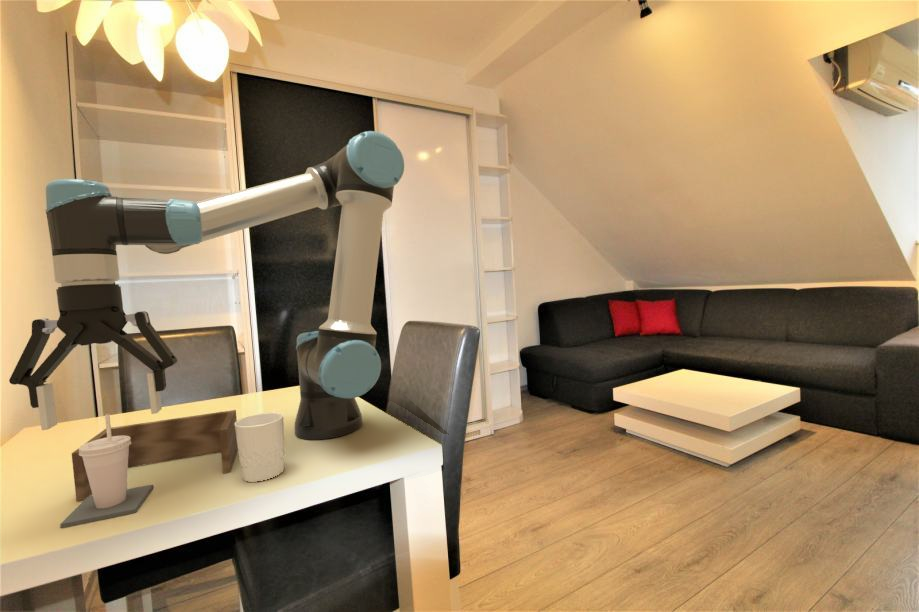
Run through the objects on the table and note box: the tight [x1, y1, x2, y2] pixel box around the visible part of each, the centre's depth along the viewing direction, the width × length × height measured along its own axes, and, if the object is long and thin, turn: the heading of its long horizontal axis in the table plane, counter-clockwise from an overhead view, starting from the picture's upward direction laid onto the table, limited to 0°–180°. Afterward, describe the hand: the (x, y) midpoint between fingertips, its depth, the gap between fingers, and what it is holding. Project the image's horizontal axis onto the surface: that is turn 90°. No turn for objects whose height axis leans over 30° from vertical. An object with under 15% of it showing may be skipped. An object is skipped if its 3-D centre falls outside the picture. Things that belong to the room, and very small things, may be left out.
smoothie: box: [78, 413, 131, 508], centre depth 67 cm, size 6×6×14 cm
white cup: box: [234, 412, 285, 483], centre depth 76 cm, size 8×8×10 cm
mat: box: [59, 484, 154, 529], centre depth 67 cm, size 9×9×1 cm
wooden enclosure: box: [71, 409, 238, 502], centre depth 80 cm, size 22×14×8 cm, turn 112°
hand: (105, 419), depth 67 cm, fingers open, 13 cm apart
